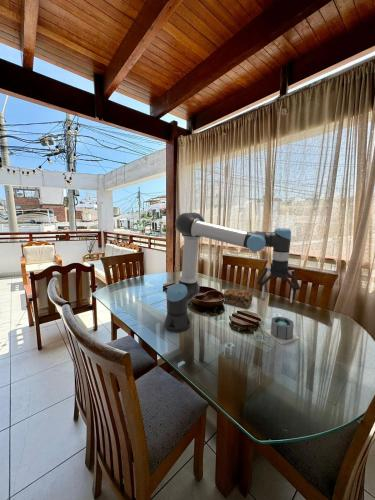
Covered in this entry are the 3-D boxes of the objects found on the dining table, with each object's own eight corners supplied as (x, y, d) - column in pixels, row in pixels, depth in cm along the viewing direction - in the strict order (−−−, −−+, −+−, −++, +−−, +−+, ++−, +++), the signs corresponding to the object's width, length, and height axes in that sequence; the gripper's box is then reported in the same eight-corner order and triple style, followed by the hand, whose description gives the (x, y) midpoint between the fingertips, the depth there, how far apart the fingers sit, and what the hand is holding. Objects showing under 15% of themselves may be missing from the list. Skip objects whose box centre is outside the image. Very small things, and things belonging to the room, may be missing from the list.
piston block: (281, 344, 107) (282, 331, 106) (264, 332, 118) (265, 320, 117) (299, 339, 111) (300, 326, 110) (281, 327, 122) (282, 316, 121)
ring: (281, 341, 108) (282, 328, 106) (266, 330, 117) (267, 318, 116) (297, 336, 111) (298, 324, 110) (281, 326, 121) (282, 315, 120)
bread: (252, 304, 154) (253, 290, 152) (247, 309, 145) (248, 295, 143) (228, 298, 164) (228, 285, 162) (222, 303, 155) (222, 290, 153)
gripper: (253, 258, 109) (250, 297, 113) (309, 264, 99) (304, 306, 103) (255, 255, 116) (252, 292, 120) (307, 260, 106) (302, 300, 110)
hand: (276, 299), depth 112 cm, fingers open, 13 cm apart
